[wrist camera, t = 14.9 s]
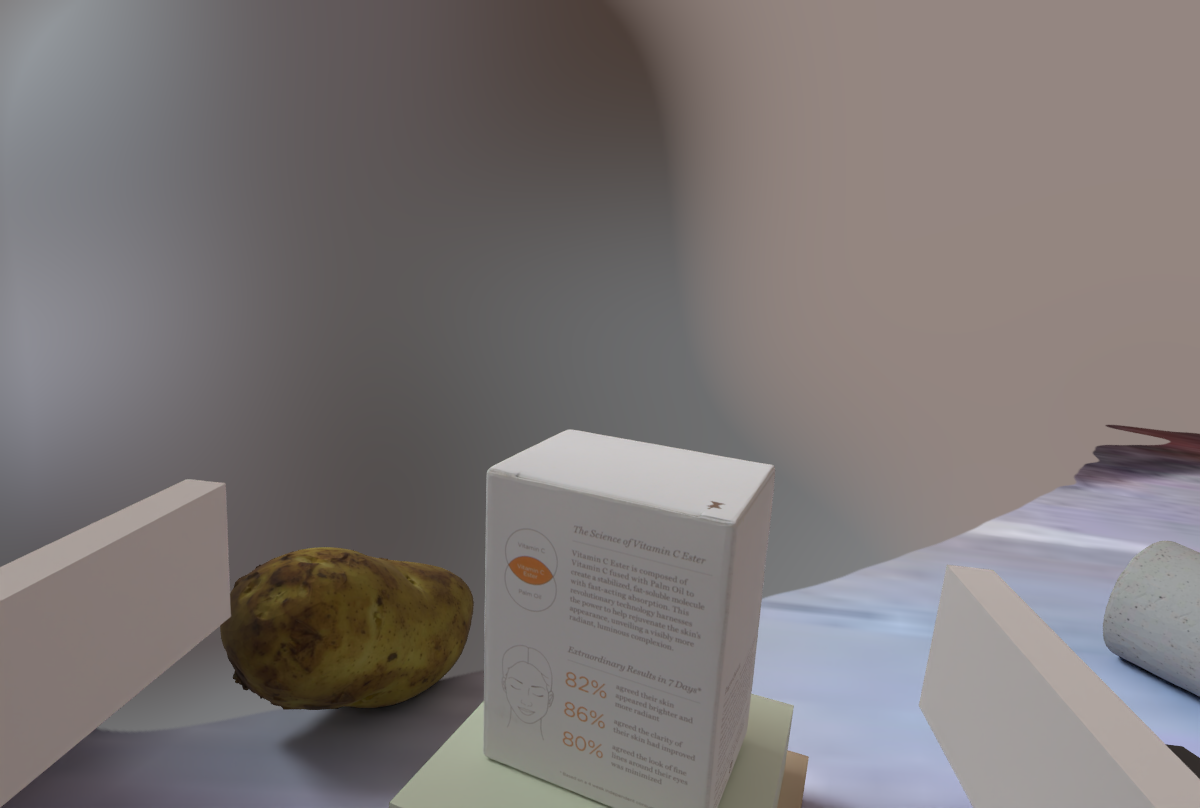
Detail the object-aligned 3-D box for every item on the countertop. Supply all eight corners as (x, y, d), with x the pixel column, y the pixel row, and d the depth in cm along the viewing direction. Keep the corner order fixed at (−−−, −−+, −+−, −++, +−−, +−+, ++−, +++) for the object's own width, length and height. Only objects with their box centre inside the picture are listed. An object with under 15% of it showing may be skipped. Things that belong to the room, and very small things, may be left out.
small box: (748, 738, 26) (783, 464, 24) (704, 853, 21) (743, 521, 19) (555, 671, 29) (567, 423, 27) (476, 758, 24) (483, 463, 22)
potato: (522, 694, 36) (530, 547, 34) (243, 797, 28) (236, 613, 27) (449, 621, 42) (453, 493, 41) (206, 689, 35) (198, 534, 33)
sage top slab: (388, 883, 23) (389, 802, 22) (540, 695, 33) (544, 635, 32) (731, 1037, 19) (744, 944, 18) (784, 771, 29) (793, 705, 28)
